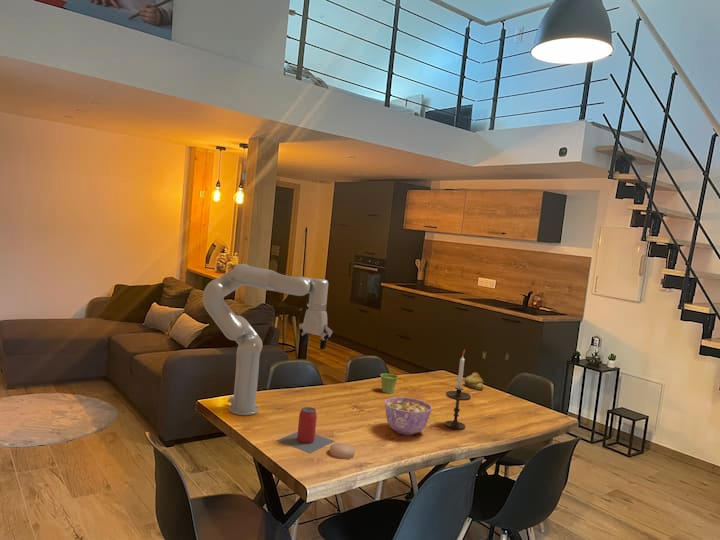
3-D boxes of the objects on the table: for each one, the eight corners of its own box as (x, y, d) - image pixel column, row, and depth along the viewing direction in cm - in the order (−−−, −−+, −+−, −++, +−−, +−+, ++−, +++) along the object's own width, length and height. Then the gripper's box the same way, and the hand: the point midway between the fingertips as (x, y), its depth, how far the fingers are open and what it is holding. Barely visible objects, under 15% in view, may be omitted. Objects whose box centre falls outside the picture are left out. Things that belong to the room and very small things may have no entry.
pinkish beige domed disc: (328, 449, 198) (329, 442, 198) (352, 450, 199) (352, 443, 199) (330, 458, 189) (331, 451, 189) (355, 460, 191) (356, 453, 190)
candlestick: (462, 422, 244) (470, 346, 242) (470, 431, 233) (480, 352, 231) (439, 421, 242) (447, 345, 240) (447, 430, 231) (456, 350, 229)
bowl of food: (395, 442, 212) (398, 413, 211) (374, 424, 230) (376, 397, 229) (438, 439, 220) (441, 411, 219) (414, 421, 238) (417, 396, 237)
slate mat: (275, 441, 200) (276, 440, 200) (302, 431, 213) (302, 429, 213) (309, 454, 191) (310, 453, 191) (335, 442, 205) (335, 441, 205)
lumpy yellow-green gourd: (486, 391, 304) (488, 377, 303) (471, 390, 301) (472, 376, 301) (476, 384, 316) (477, 371, 316) (461, 384, 314) (462, 370, 313)
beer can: (317, 439, 205) (320, 408, 204) (309, 445, 198) (313, 413, 198) (301, 435, 207) (304, 405, 206) (293, 441, 200) (297, 410, 200)
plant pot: (377, 388, 286) (379, 372, 285) (394, 389, 287) (396, 374, 286) (380, 393, 277) (381, 377, 276) (398, 395, 278) (399, 378, 277)
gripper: (296, 305, 231) (292, 344, 232) (328, 311, 222) (324, 351, 223) (306, 304, 237) (303, 342, 238) (338, 310, 228) (334, 349, 229)
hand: (313, 346), depth 230 cm, fingers open, 9 cm apart
